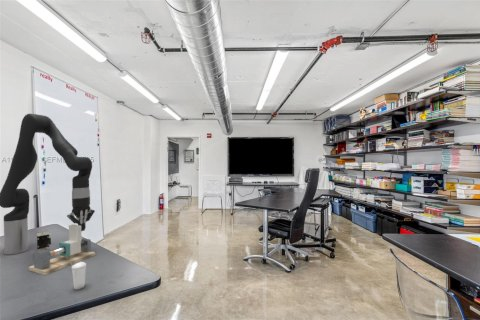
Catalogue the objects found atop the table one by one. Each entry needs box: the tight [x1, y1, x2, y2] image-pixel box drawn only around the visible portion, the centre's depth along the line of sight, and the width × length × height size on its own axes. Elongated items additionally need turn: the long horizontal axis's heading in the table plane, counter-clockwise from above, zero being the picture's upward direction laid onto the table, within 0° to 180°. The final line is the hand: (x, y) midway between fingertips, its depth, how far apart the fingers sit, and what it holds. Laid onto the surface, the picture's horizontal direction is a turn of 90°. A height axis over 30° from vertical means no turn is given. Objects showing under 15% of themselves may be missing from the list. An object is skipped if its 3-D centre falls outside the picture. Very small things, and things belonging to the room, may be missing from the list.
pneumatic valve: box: [35, 230, 52, 250], centre depth 121 cm, size 6×12×12 cm, turn 42°
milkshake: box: [70, 261, 87, 290], centre depth 88 cm, size 4×5×10 cm
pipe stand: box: [28, 238, 96, 276], centre depth 111 cm, size 22×12×8 cm, turn 157°
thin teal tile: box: [58, 241, 70, 257], centre depth 111 cm, size 1×6×6 cm, turn 67°
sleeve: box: [64, 224, 83, 255], centre depth 114 cm, size 5×7×13 cm
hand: (81, 230), depth 119 cm, fingers closed
